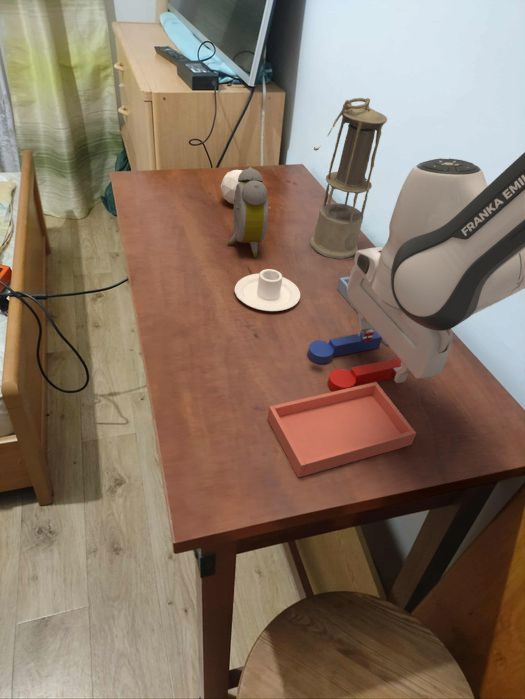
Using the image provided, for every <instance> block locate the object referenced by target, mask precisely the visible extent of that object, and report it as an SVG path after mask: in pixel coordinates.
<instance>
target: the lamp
mask: <svg viewBox="0 0 525 699" xmlns="http://www.w3.org/2000/svg"><path fill="white" fill-rule="evenodd" d="M357 102H363V103H362V104H358V105H354V104H353V105H352V103H357ZM370 102H371V98H369V97H367V98H364V97H355V98H351V99H346V100H344V103H343V104H342V109H341V110H340V112H339V114H338V115H337V117H335V120H334V122H333V123H332V127H331V128H330V130H329V132H328V133H327V136H326V137H329V135H330V134H331V132H332V130H333V128H334V127H335V126H336V124H337V122H338V121H339V119H340V118H341V122H340V125H339V126H340V127H339V130H338V133H337V138H336V142H335V145H334V151H333V153H332V158H331V161H330V163H329V164H330V165H329V170H328V174H327V175H325V181H326V183H327V185H326V188H325V193H324V199H323V204H322V206H321V207H320V208H319V211H318V216H317V220H316V221H317V222H316V225H315V230H314V234H313V235H312V237H311V239H310V241H309V244H310V246H311V247H312V248H313V250H315V251H316V252H317V253H318V254H321V255H322V256H324V257H326V258H327V257H328V258H331V259H336V260H337V259H338V260H344V259H348V258H352V257H353V256H355V254H356V252H357V251H358V250H359V248H358V241H359V238H360V233H361V230H362V229H361V228H362V224H363V220H364V213H365V209H366V206H367V201H368V194H369V193H370V192H369V191H370V190H371V189H372V186H373V185H372V182H371V177H372V173H373V169H374V167H375V161H376V155H377V151H378V148H379V144H380V139H381V136H382V129H383V126H384V125H385V124H386V123H387V122H388V117H387V116H386V115H385V114H383V113H381V112H379V111H377V110H375V109H373V108H371V107H370ZM341 116H342V117H341ZM345 124H347V133H346V135H345V139H344V144H343V148H342V152H341V155H340V161H339V165H338V169H337V171H333V172H332V169H333V166H334V162H335V158H336V154H337V151H338V148H339V144H340V140H341V136H342V132H343V129H344V125H345ZM374 140H375V145H374V148H373V144H374ZM320 148H321V146H319V147H316V146H314V147H313V151H319V149H320ZM372 149H373V151H372ZM371 152H372V153H371ZM371 154H372V155H371ZM370 157H371V158H370ZM369 162H370V167H369V173H368V175H367V176H368V177H367V178H366V173H367V170H368V166H369ZM330 187H331V188H330ZM335 190H339V191H340V192H343V193H344V192H345V193H346V197H345V201H344V203H339V202H332V198H333V193H334V191H335ZM350 193H351V194H354V197H353V203H352V206H351V205H350V204H348V200H349V196H350ZM363 193H365V195H364V200H363V204H362V206H361V211H360V209H357V208H356V204H357V200H358V196H359V194H363Z"/></svg>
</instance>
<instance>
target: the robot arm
mask: <svg viewBox="0 0 525 699" xmlns="http://www.w3.org/2000/svg"><path fill="white" fill-rule="evenodd" d="M388 231H389V233H388V238H387V241H386V242H385V244H384V245H383V246H377V247H376V246H375V247H370V248H368V247H367V248H363V249H358V250H357V252H356V254H355V255H354V259H353V262H354V265H353V266H352V268H351V271H350V273H349V276H348V277H349V281H348V285H347V296H348V299H349V301H350V302H351V303H352V304H353V305H354V306H355V307H356V309H357V310H358V311H359V313H357V317H358V318H357V319H358V332H357V334H358V336H359V337H360V339H361V340H362V341H363V342H365V341H370V340H371V339H372V335H373V334H374V331H373V330H372V327H373V328H374V330H375V331H376V332H377V333H378V334H379V335H380V337H381V338H382V339H383V340H384V341H385V343H386V344H387V345H386V346H388V347H389V349H390V350H391V351H392V352H393V353H394V354H395V355H396V358H399V359H400V360H401V366H400V367H399V368H398V367H396V368H393V370H392V373H391V377H392V378H391V379H393V381H394V383H396V384H400V383H403V382H405V381H406V380H407V379H408V376H409V374H411V375H412V376H413V377H414V378H415V379H417V380H425V379H426V380H427V379H430V378H434V377H437V376H440V375H441V374H442V373H443V371H444V370H445V367H446V364H447V362H448V358H449V356H450V351H451V349H452V348H451V347H452V343H453V340H454V333H453V330H452V329H453V328H454V327H456V326H458V325H459V324H461V323H463V322H464V321H466V320H468V319H469V318H470V317H471V316H473V315H475V314H477V313H479V312H481V311H483V310H485V309H487V308H489V307H492V306H493V305H495V304H498V303H499V302H501V301H503V300H505V299H507V298H509V297H511V296H513V295H514V294H517V293H518V292H521V291H522V290H524V289H525V151H524V152H523V153H522V154H521V155H520V156H518V158H516V159H515V160H514V161H513V162H512V163H511V164H510V165H509V166H508V167H507V168H506V169H504V170H503V171H502V172H501V173H500V174H499V175H498V176H497V177H496V178H495V179H494V180H493V181H492V182H491V183H490V184H488V183H487V181H486V178H485V175H484V172H483V170H482V169H481V168H480V166H478V165H476V164H474V163H473V162H470V161H468V160H464V159H459V158H442V157H441V158H435V159H429V160H426V161H423V162H420V163H418V164H416V165H414V166H413V167H412V169H411V170H410V171H409V172H408V174H407V176H406V178H405V180H404V182H403V184H402V186H401V188H400V191H399V194H398V195H397V198H396V202H395V204H394V207H393V211H392V214H391V217H390V220H389V226H388Z"/></svg>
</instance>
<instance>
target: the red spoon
mask: <svg viewBox="0 0 525 699" xmlns="http://www.w3.org/2000/svg"><path fill="white" fill-rule="evenodd" d="M400 366H401V360H400V359H399V358H398V357H396V358H391V359H387V360H382V361H377V362H373V363H372V362H371V363H368V364H363V365H358V366H355V367H351V368H350V371H349V370H347V369H343V368H337V369H333V370H331V372H330V373H329V376H328V378H327V387H328V389H329V390H330V392H334V391H339V390H343V389H347V388H352V387H356V386H360V385H365V384H369V383H374V382H377V383H378V382H381V381H386V380H390V379H393V378H392V377H391V373H392V370H393V368H396V367H398V368H399V367H400Z"/></svg>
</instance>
